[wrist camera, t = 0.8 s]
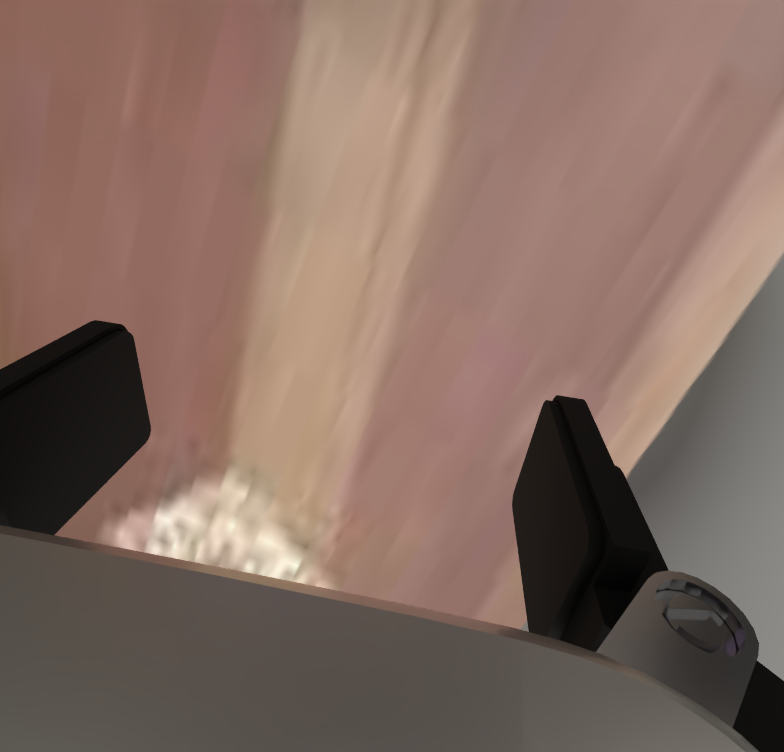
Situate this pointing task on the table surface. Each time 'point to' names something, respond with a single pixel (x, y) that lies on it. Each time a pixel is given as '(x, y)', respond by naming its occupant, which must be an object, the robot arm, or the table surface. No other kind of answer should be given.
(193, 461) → the table surface
